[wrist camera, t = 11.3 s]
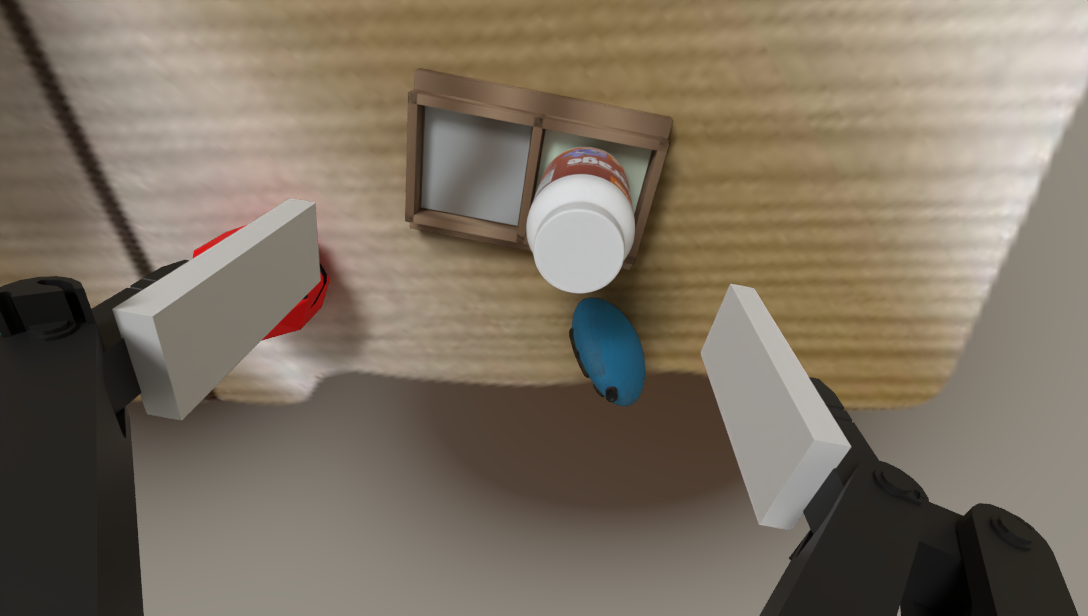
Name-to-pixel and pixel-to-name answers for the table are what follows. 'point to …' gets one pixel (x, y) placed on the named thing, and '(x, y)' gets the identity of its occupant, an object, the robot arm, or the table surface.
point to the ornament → (608, 351)
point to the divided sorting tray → (513, 154)
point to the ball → (300, 311)
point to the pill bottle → (581, 220)
